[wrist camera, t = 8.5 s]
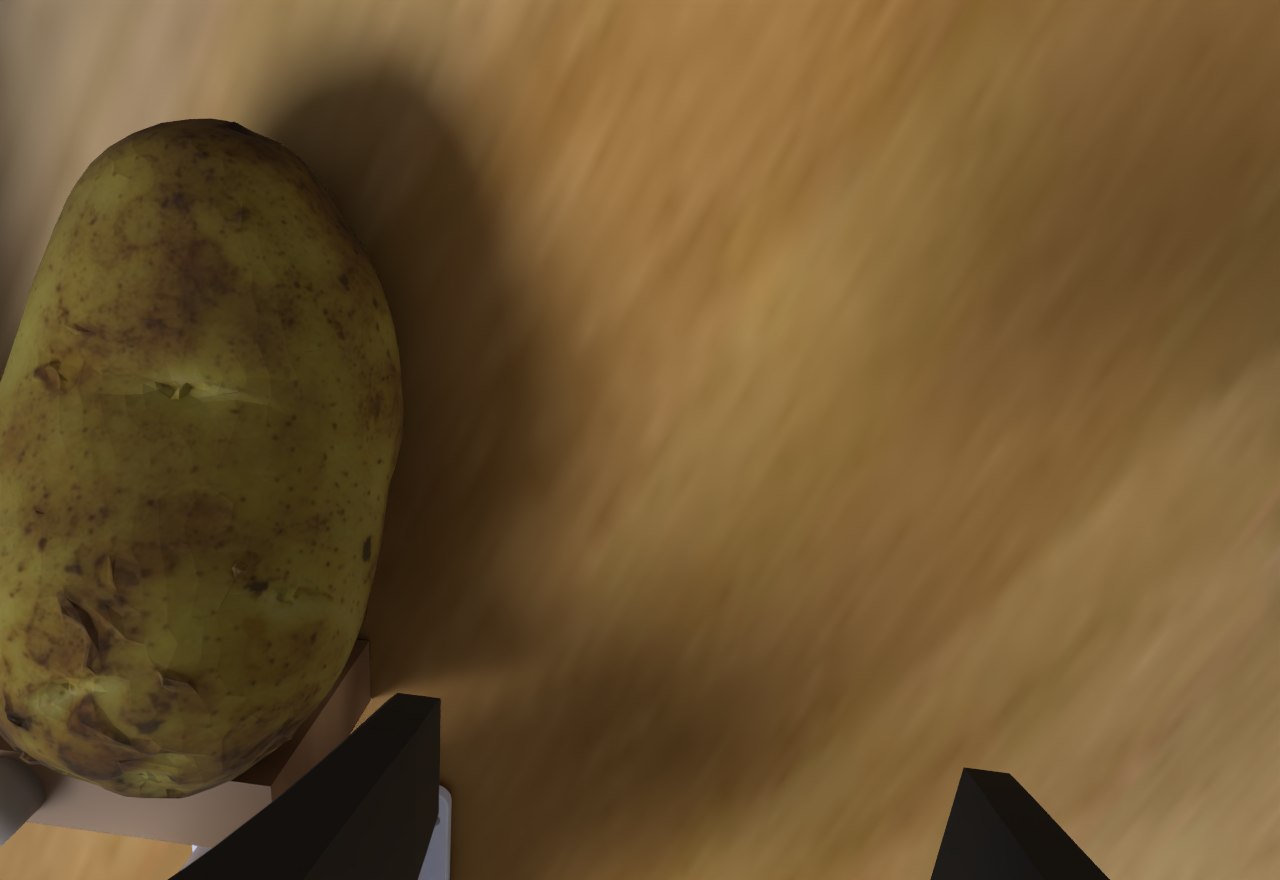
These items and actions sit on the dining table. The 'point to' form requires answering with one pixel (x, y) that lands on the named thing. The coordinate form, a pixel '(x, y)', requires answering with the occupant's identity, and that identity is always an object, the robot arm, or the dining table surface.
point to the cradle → (34, 793)
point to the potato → (190, 463)
